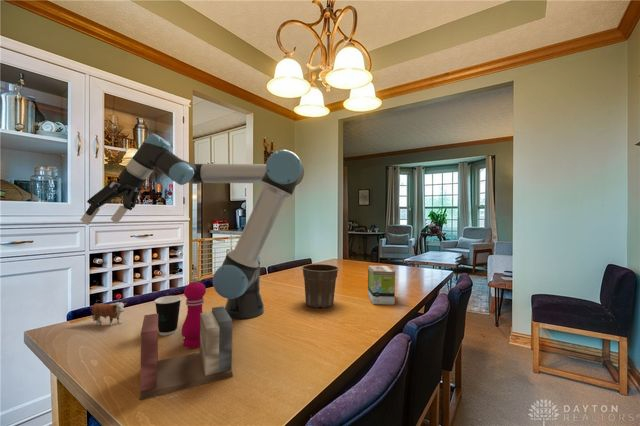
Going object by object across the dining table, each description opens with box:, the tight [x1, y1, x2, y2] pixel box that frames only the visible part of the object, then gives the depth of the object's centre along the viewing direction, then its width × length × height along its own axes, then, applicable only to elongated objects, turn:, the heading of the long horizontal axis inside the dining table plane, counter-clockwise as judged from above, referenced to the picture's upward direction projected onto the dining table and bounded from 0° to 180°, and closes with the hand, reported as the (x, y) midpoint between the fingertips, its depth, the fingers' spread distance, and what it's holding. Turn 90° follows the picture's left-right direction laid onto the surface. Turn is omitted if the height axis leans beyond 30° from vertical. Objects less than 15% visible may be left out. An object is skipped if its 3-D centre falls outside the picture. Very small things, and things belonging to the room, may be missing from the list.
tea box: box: [367, 265, 396, 305], centre depth 133 cm, size 15×10×15 cm, turn 179°
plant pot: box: [301, 263, 340, 309], centre depth 126 cm, size 16×16×16 cm
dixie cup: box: [154, 295, 182, 336], centre depth 95 cm, size 8×8×11 cm
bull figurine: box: [91, 301, 128, 327], centre depth 101 cm, size 4×13×8 cm, turn 79°
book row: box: [139, 305, 234, 401], centre depth 71 cm, size 19×14×14 cm
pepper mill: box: [181, 276, 207, 349], centre depth 87 cm, size 7×7×20 cm
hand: (100, 222), depth 102 cm, fingers open, 13 cm apart
